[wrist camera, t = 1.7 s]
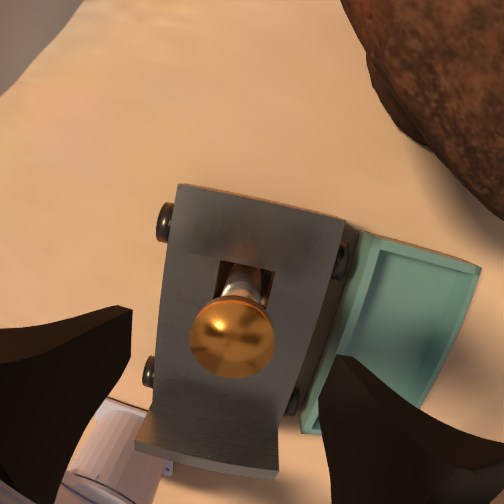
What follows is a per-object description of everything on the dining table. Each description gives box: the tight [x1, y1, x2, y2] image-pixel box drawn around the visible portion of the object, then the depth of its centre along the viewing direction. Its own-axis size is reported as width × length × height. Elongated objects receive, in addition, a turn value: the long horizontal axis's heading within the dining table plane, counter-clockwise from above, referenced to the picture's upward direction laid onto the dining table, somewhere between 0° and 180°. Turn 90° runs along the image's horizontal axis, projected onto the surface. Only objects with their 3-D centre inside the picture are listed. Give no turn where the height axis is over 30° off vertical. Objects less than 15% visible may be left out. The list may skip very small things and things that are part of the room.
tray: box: [298, 230, 482, 435], centre depth 19 cm, size 15×9×2 cm, turn 168°
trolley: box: [134, 184, 350, 480], centre depth 17 cm, size 16×11×7 cm
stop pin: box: [189, 263, 275, 378], centre depth 15 cm, size 3×3×9 cm
